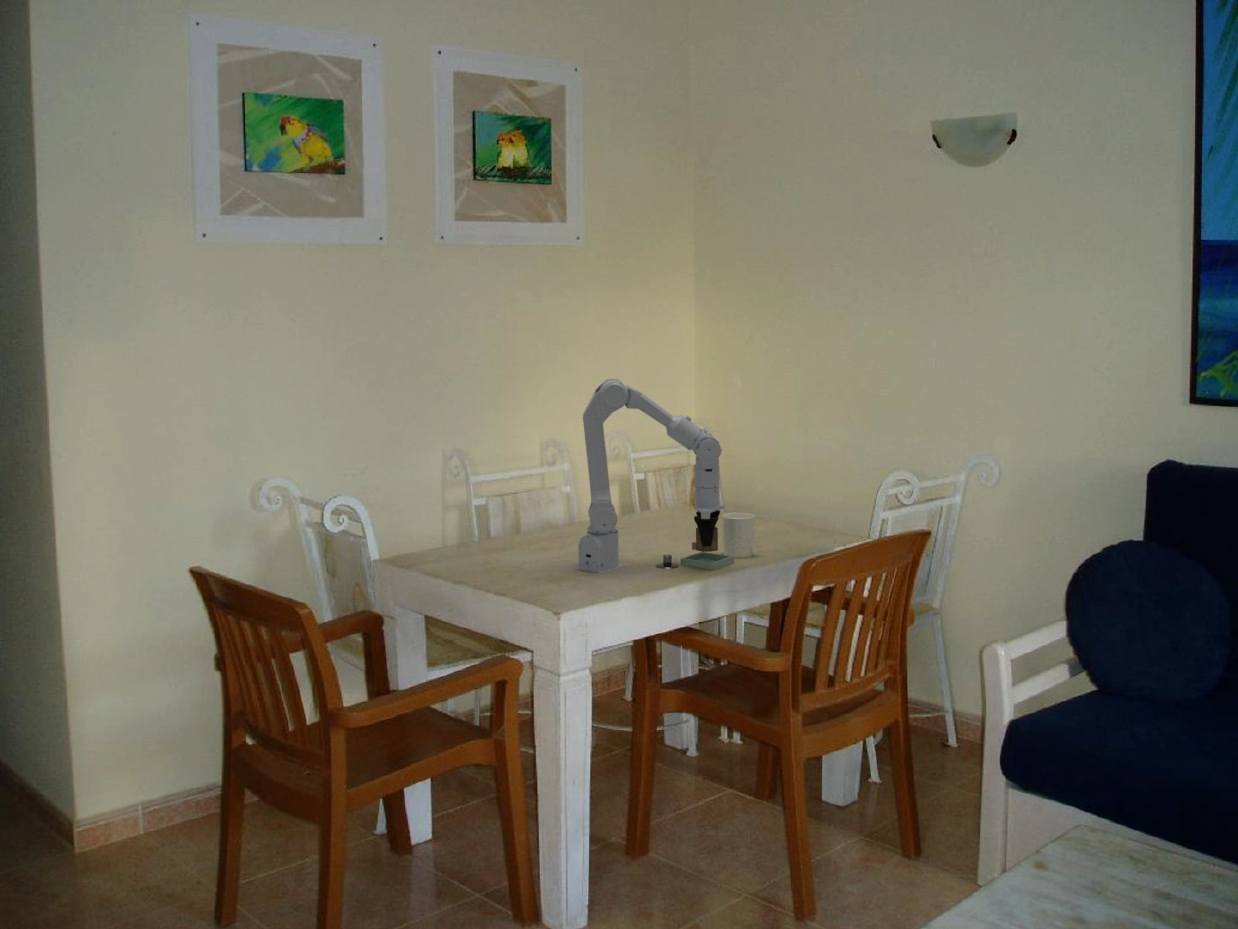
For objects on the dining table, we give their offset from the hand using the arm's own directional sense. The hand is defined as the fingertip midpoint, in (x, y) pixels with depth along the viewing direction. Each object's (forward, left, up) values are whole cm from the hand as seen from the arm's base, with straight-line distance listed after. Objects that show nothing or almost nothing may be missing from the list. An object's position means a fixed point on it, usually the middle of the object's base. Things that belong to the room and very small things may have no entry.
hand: (707, 543), depth 301 cm
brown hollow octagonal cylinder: (0, 0, -1) cm, 1 cm away
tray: (0, 0, -5) cm, 5 cm away
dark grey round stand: (-7, +7, -5) cm, 11 cm away
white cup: (+13, 0, -6) cm, 14 cm away
